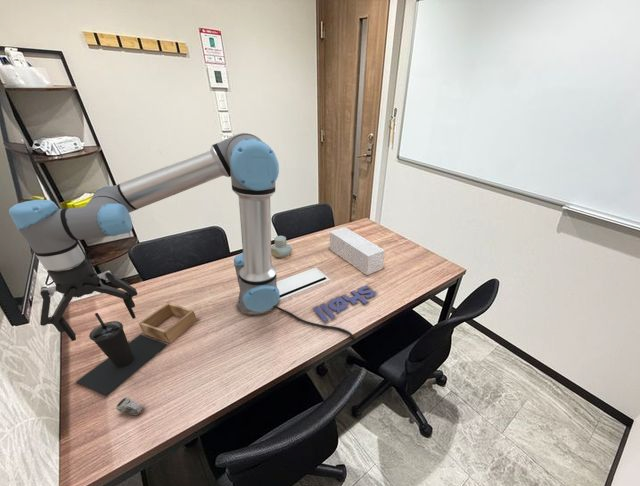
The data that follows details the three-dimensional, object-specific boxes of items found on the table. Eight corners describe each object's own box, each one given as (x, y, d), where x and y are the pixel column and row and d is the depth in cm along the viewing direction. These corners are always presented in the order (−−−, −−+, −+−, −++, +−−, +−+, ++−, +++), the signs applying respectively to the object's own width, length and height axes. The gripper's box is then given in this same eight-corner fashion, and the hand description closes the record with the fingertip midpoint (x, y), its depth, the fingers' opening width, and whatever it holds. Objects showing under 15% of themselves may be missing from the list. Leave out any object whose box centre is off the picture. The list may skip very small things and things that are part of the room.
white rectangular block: (329, 249, 158) (329, 231, 152) (344, 244, 164) (345, 227, 158) (366, 275, 137) (368, 256, 132) (382, 268, 143) (384, 250, 137)
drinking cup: (124, 373, 85) (94, 325, 74) (103, 368, 86) (70, 320, 76) (145, 354, 92) (120, 307, 81) (125, 349, 93) (97, 302, 82)
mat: (167, 345, 96) (167, 344, 96) (106, 396, 80) (105, 394, 79) (140, 335, 99) (140, 334, 98) (77, 382, 83) (75, 381, 82)
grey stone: (126, 405, 78) (119, 394, 75) (148, 407, 78) (141, 396, 75) (116, 417, 75) (108, 406, 72) (138, 420, 75) (131, 409, 72)
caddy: (197, 320, 106) (193, 310, 104) (170, 343, 97) (165, 332, 94) (172, 312, 109) (168, 302, 107) (143, 333, 100) (138, 323, 97)
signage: (366, 284, 129) (380, 296, 123) (366, 286, 130) (380, 297, 123) (312, 307, 115) (324, 321, 108) (312, 308, 115) (324, 322, 108)
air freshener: (268, 254, 150) (266, 237, 144) (280, 248, 155) (278, 232, 150) (283, 261, 144) (281, 244, 139) (294, 255, 150) (293, 238, 145)
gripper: (125, 243, 79) (152, 302, 90) (-7, 274, 65) (45, 339, 76) (130, 254, 74) (158, 314, 86) (-12, 290, 60) (44, 356, 72)
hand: (105, 326), depth 81 cm, fingers open, 13 cm apart
